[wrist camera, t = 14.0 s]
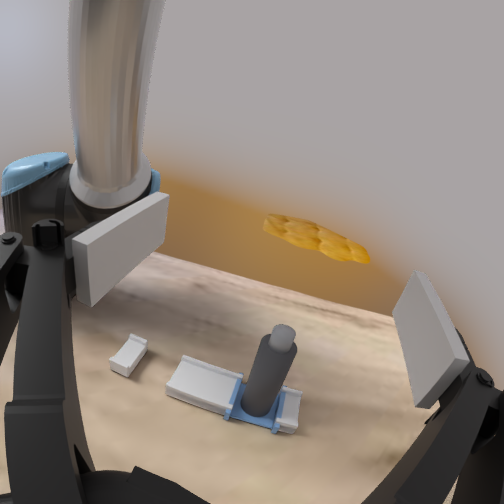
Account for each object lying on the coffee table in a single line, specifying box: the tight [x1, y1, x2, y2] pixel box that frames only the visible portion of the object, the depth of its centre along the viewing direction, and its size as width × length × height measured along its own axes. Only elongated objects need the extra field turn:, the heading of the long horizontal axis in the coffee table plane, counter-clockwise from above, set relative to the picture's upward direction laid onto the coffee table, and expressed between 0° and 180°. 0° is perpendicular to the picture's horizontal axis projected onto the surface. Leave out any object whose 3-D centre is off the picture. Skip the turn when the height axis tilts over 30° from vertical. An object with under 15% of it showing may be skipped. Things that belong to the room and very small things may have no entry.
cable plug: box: [240, 324, 297, 417], centre depth 33 cm, size 4×4×13 cm
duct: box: [109, 334, 303, 434], centre depth 37 cm, size 25×7×2 cm, turn 77°
